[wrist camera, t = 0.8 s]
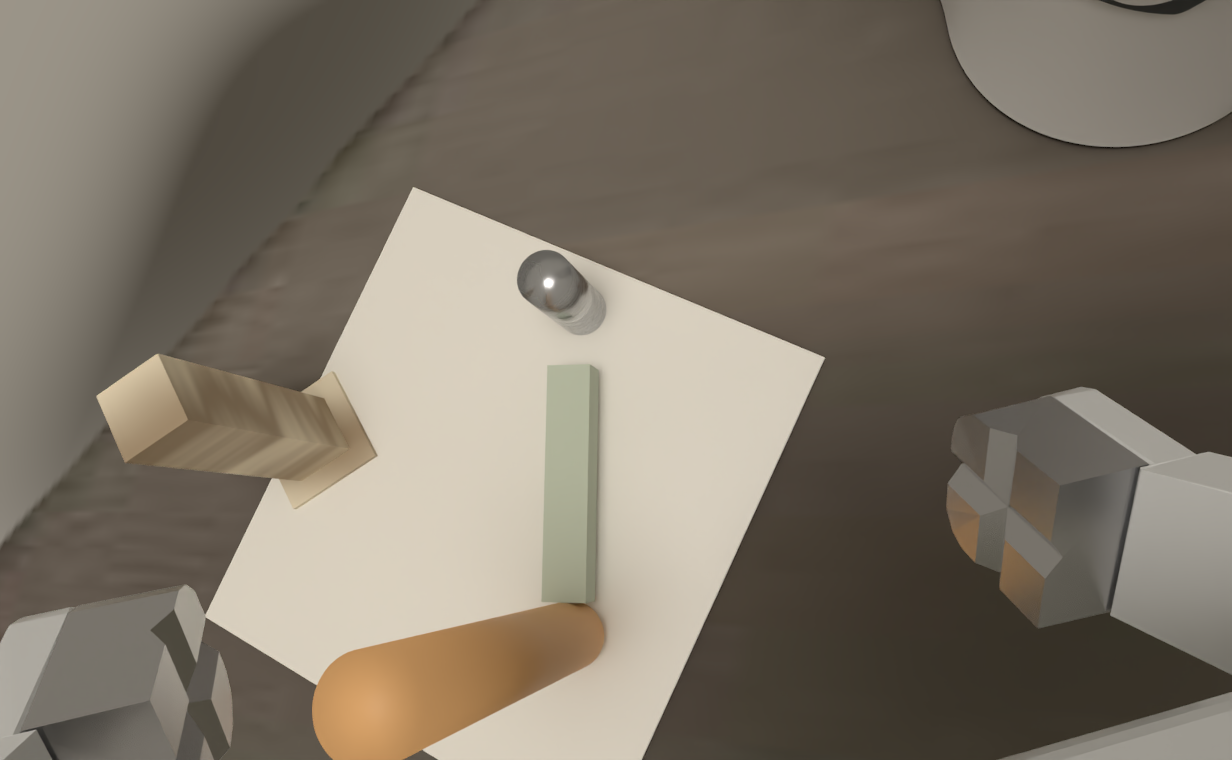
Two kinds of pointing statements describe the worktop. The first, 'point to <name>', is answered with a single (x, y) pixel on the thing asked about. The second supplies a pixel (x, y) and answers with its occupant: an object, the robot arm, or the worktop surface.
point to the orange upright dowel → (493, 648)
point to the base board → (521, 480)
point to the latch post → (236, 425)
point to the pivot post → (561, 292)
